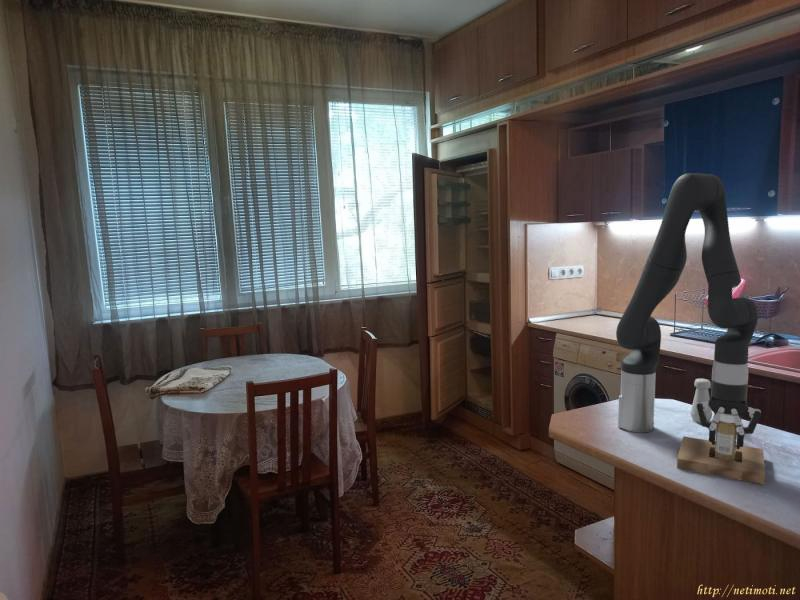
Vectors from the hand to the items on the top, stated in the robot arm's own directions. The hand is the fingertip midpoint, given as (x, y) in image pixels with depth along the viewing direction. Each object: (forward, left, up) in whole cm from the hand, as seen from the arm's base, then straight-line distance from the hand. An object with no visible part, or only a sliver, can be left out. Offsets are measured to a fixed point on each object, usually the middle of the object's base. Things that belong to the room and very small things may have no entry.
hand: (725, 445), depth 135 cm
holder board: (-1, 0, -5) cm, 5 cm away
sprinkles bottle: (0, 0, -5) cm, 5 cm away
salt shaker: (-7, +30, -5) cm, 31 cm away
